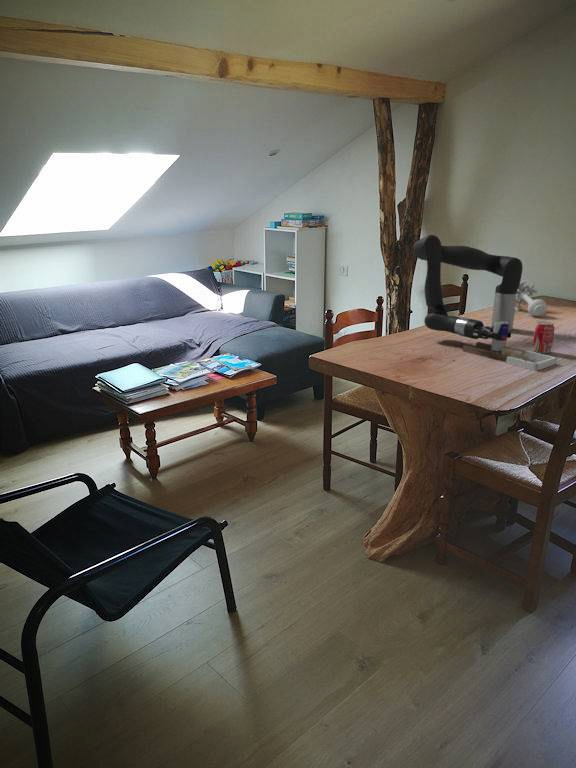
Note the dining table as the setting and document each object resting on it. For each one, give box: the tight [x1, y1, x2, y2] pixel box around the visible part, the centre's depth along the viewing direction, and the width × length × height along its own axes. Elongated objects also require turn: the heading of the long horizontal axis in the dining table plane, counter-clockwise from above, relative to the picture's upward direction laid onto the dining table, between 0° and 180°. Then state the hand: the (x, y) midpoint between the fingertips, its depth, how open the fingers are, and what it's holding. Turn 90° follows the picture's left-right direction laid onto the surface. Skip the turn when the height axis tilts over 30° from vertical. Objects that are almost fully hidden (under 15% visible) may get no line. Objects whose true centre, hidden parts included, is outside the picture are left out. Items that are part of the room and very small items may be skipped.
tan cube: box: [501, 345, 517, 357], centre depth 217 cm, size 4×4×4 cm
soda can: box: [532, 320, 555, 355], centre depth 224 cm, size 7×7×12 cm
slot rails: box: [461, 341, 508, 362], centre depth 223 cm, size 11×19×2 cm, turn 38°
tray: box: [505, 350, 558, 372], centre depth 210 cm, size 14×12×2 cm
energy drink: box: [490, 321, 509, 354], centre depth 219 cm, size 5×5×12 cm
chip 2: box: [511, 347, 528, 361], centre depth 214 cm, size 4×4×4 cm
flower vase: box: [515, 278, 547, 317], centre depth 295 cm, size 13×18×25 cm
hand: (505, 336), depth 217 cm, fingers closed on energy drink, 5 cm apart
